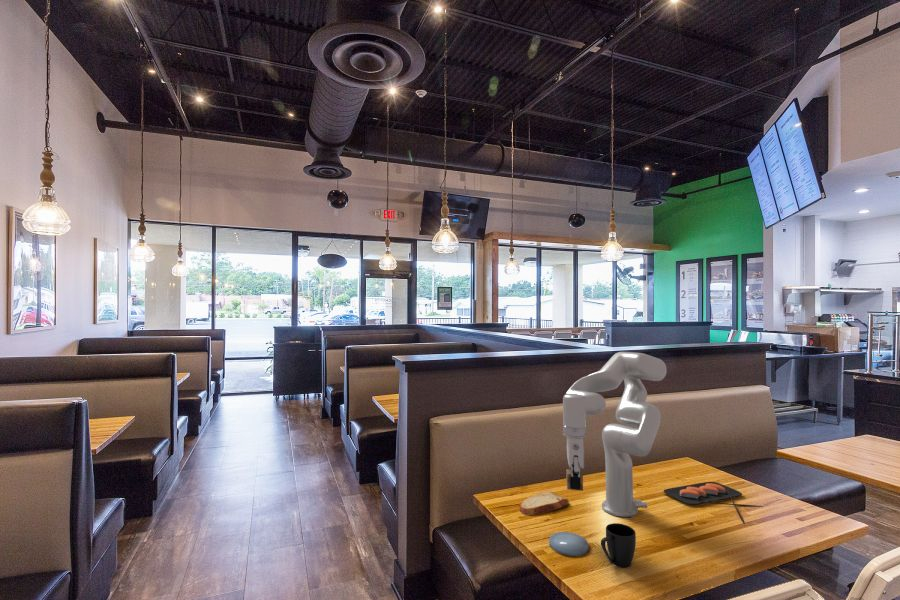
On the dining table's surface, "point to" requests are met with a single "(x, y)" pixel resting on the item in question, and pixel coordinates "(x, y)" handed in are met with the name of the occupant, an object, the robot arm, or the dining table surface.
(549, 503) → the bread slice
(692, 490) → the sushi plate
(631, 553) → the mug
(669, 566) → the dining table surface
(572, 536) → the dish
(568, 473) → the block
